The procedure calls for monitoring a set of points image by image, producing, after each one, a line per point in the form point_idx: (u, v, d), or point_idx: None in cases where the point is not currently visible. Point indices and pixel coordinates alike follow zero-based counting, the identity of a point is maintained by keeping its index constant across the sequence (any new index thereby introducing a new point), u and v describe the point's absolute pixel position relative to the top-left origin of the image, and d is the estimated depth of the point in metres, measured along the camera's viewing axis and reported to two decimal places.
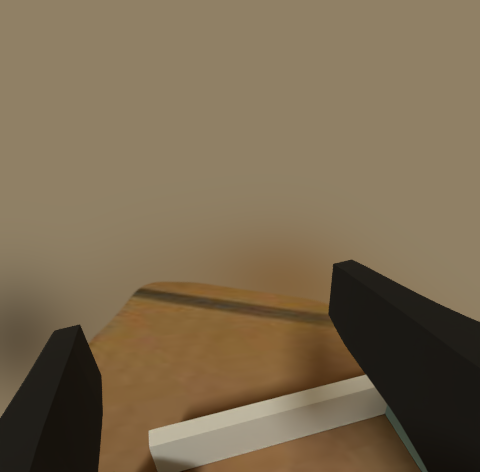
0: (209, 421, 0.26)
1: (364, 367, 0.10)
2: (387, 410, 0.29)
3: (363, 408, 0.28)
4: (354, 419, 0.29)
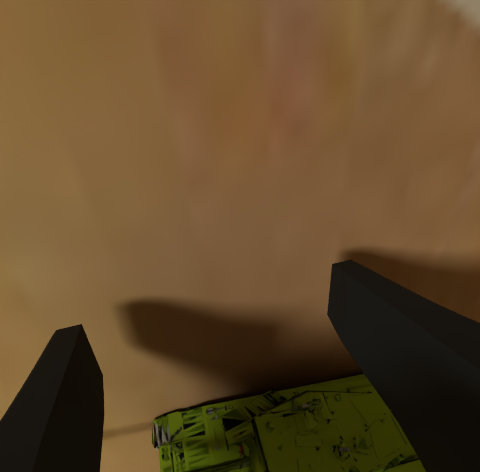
0: None
1: (362, 368, 0.10)
2: None
3: None
4: None
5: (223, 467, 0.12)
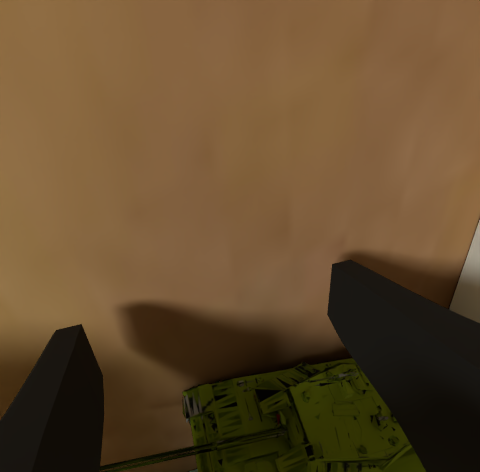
0: None
1: (362, 368, 0.10)
2: None
3: None
4: None
5: (260, 435, 0.12)
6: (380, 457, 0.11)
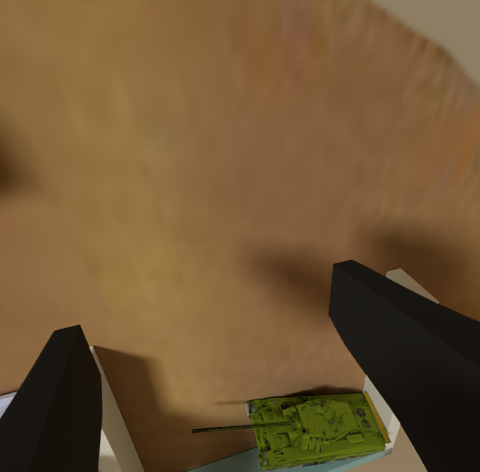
0: None
1: (364, 367, 0.10)
2: None
3: None
4: None
5: (283, 423, 0.29)
6: (330, 437, 0.29)
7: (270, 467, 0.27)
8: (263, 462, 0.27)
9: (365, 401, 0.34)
